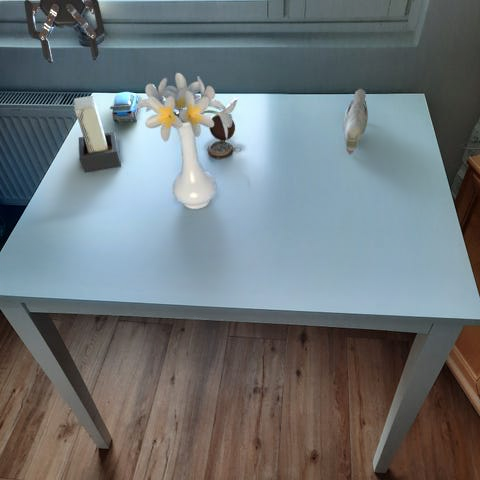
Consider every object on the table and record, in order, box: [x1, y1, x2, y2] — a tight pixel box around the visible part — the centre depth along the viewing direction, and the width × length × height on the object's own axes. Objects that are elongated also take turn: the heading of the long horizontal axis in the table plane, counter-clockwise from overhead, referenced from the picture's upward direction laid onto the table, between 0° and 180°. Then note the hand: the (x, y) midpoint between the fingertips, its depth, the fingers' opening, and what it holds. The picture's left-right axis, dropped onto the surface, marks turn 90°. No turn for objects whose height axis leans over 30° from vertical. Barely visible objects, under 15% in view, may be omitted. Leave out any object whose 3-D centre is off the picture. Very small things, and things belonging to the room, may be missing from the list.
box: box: [73, 95, 109, 154], centre depth 106 cm, size 5×4×13 cm
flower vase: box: [136, 72, 238, 210], centre depth 92 cm, size 13×18×25 cm
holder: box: [78, 131, 122, 174], centre depth 110 cm, size 8×8×4 cm
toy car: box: [109, 91, 140, 124], centre depth 121 cm, size 6×12×6 cm, turn 2°
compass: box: [206, 114, 242, 160], centre depth 109 cm, size 8×8×7 cm
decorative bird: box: [342, 88, 369, 155], centre depth 110 cm, size 5×16×8 cm, turn 166°
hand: (73, 61), depth 95 cm, fingers open, 8 cm apart
